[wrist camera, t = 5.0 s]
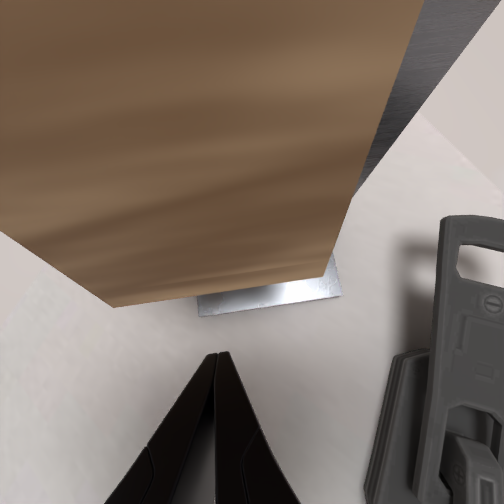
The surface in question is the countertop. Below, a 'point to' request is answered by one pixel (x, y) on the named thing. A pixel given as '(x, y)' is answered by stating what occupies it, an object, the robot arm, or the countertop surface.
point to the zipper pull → (448, 390)
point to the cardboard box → (189, 136)
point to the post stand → (379, 135)
